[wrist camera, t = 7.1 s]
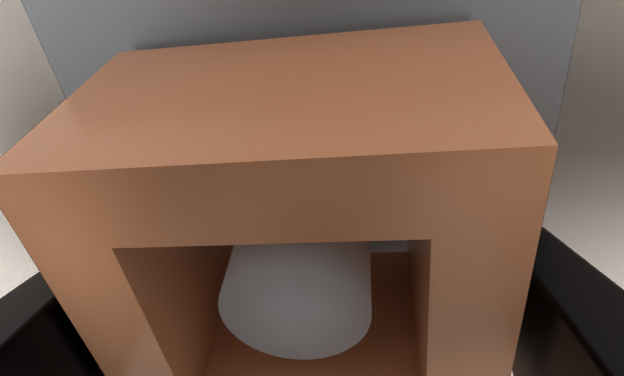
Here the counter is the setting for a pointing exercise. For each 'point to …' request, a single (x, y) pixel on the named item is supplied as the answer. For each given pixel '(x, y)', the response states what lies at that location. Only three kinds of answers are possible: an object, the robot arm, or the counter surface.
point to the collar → (290, 196)
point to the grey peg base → (289, 23)
